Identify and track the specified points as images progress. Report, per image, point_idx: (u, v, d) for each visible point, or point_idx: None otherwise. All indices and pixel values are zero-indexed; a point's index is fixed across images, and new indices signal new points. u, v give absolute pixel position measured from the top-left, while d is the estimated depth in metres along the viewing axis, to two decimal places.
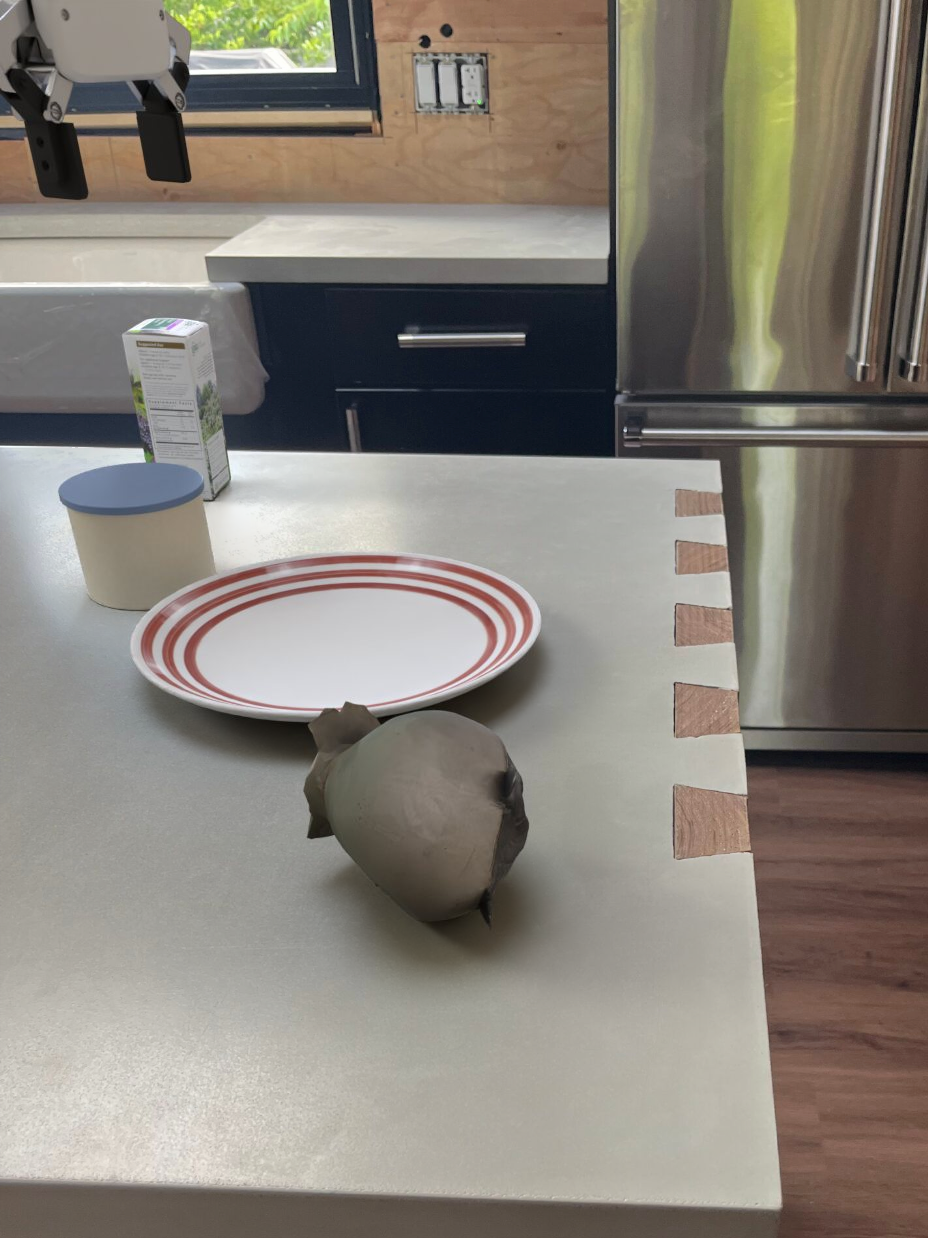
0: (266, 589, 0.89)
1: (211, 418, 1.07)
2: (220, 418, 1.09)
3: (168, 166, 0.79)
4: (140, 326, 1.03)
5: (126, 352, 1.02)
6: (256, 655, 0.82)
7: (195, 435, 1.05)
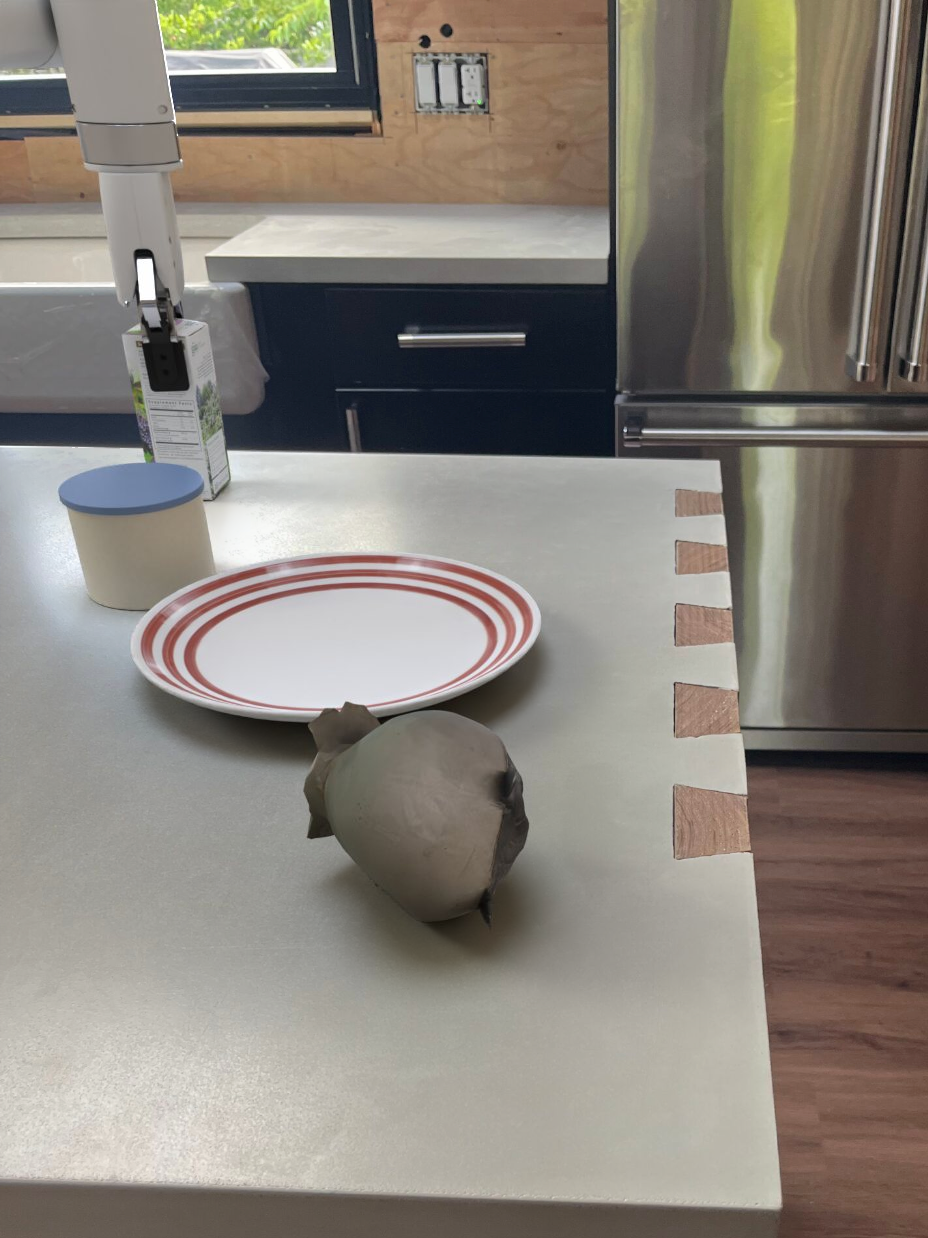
0: (266, 589, 0.89)
1: (211, 418, 1.07)
2: (220, 418, 1.09)
3: None
4: None
5: (126, 352, 1.02)
6: (256, 655, 0.82)
7: (195, 435, 1.05)
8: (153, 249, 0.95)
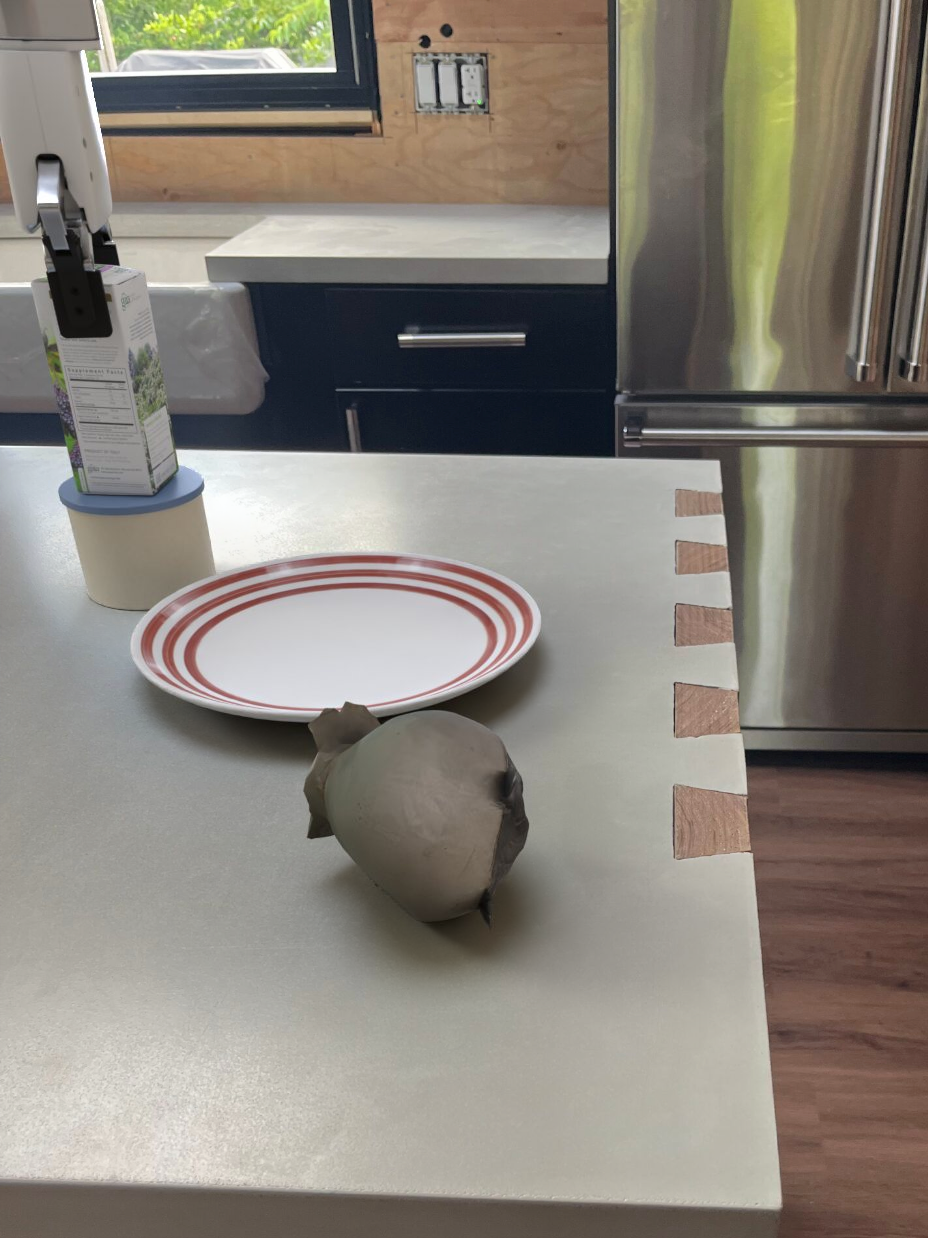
0: (266, 589, 0.89)
1: (150, 392, 0.85)
2: (163, 393, 0.87)
3: None
4: None
5: (37, 306, 0.79)
6: (256, 655, 0.82)
7: (128, 413, 0.83)
8: (62, 154, 0.72)
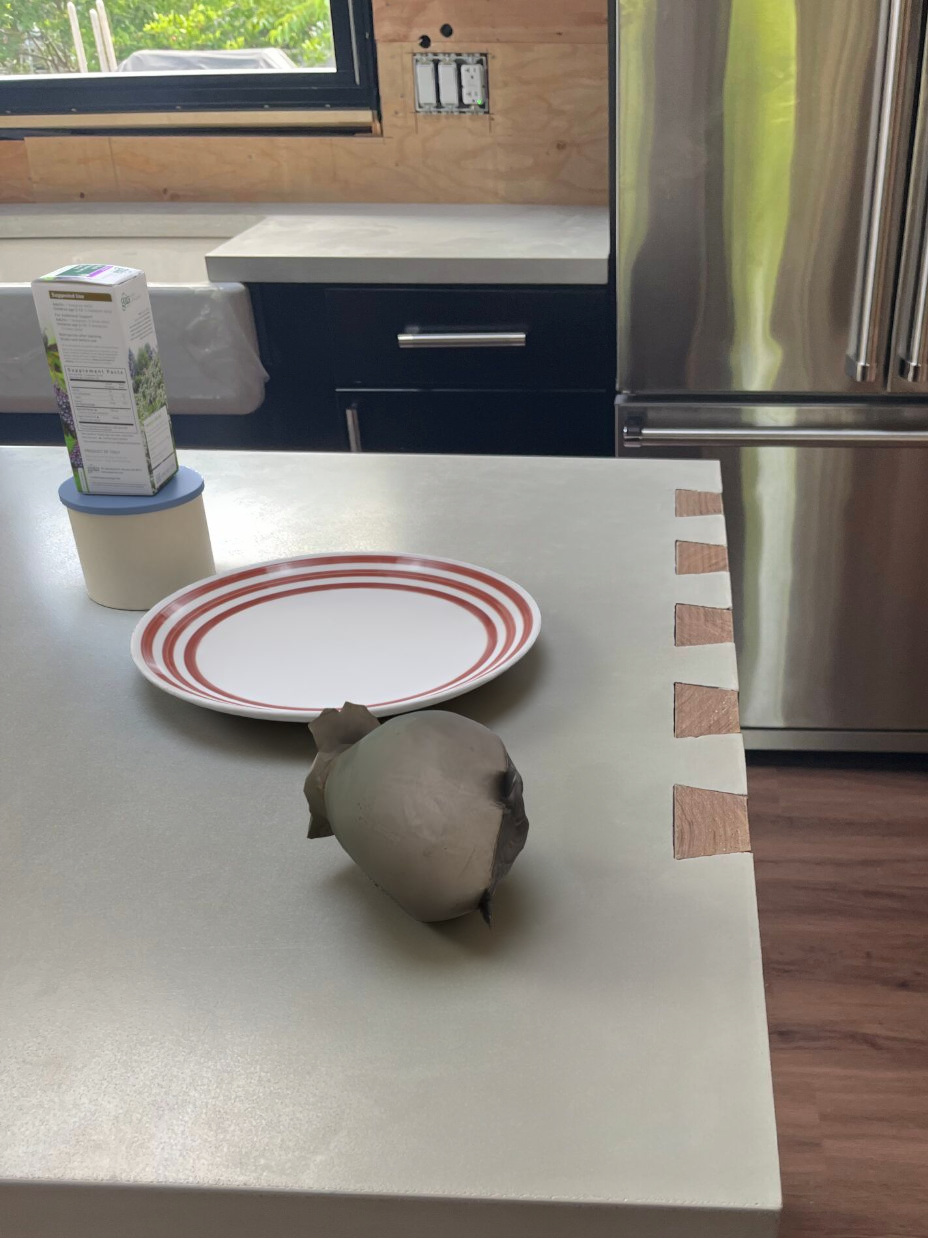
0: (266, 589, 0.89)
1: (150, 392, 0.85)
2: (163, 393, 0.87)
3: None
4: (55, 273, 0.80)
5: (37, 306, 0.79)
6: (256, 655, 0.82)
7: (128, 413, 0.83)
8: None
